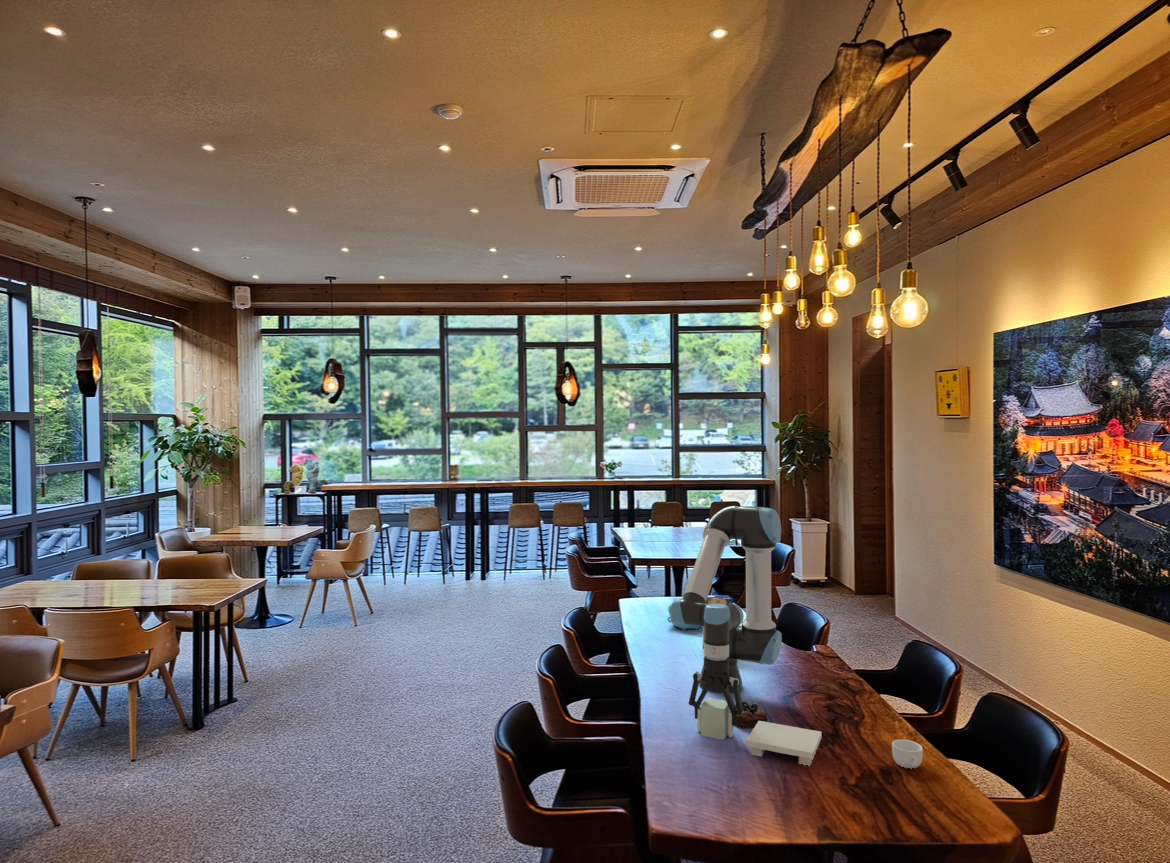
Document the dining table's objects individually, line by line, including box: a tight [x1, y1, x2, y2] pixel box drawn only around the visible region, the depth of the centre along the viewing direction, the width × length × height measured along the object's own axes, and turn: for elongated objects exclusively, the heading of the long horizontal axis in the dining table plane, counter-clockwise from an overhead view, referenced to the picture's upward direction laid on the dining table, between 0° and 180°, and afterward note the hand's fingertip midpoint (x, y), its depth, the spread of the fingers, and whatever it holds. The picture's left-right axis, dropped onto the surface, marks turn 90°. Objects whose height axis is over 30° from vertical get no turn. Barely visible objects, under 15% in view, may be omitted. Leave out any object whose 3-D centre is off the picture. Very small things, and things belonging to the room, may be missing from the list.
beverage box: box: [702, 594, 734, 650], centre depth 307 cm, size 7×11×22 cm, turn 98°
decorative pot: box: [666, 603, 702, 631], centre depth 344 cm, size 16×16×14 cm
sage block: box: [700, 697, 730, 740], centre depth 221 cm, size 7×7×9 cm
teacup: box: [891, 739, 924, 770], centre depth 200 cm, size 10×8×5 cm
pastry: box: [730, 700, 769, 729], centre depth 231 cm, size 11×12×6 cm
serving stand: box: [745, 721, 823, 767], centre depth 208 cm, size 16×18×4 cm
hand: (715, 732), depth 221 cm, fingers open, 9 cm apart
